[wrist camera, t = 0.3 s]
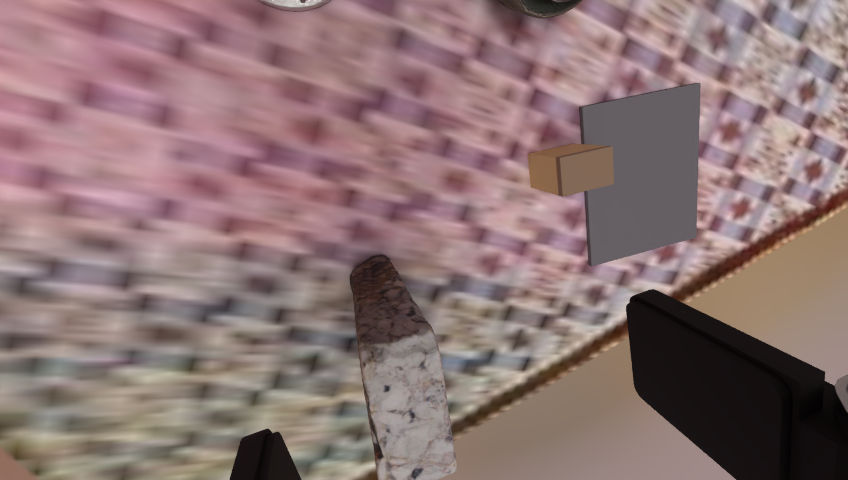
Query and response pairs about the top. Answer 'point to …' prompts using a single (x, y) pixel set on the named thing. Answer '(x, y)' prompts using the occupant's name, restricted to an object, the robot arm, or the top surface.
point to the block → (571, 168)
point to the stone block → (400, 377)
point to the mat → (644, 172)
